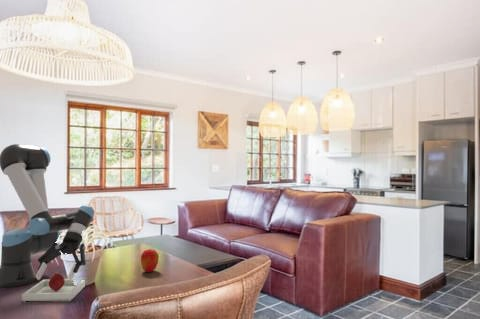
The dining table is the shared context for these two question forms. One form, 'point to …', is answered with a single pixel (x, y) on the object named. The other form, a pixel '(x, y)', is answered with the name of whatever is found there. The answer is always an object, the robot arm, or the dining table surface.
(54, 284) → the onion
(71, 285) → the dish
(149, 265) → the apple
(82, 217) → the robot arm
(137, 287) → the dining table surface
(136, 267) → the dining table surface
